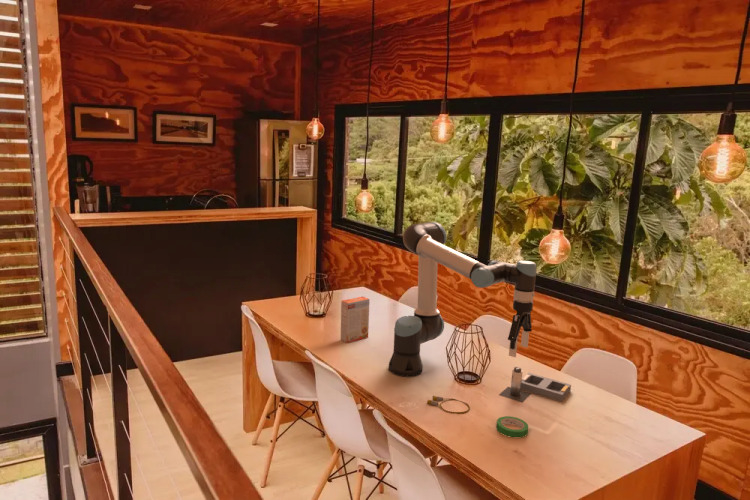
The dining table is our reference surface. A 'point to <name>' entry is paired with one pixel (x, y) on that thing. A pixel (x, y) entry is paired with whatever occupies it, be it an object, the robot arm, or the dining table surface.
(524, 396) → the plate
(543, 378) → the socket block
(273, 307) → the dining table surface
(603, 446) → the dining table surface
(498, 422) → the tape roll
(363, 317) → the cracker box
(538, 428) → the dining table surface
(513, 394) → the plug
